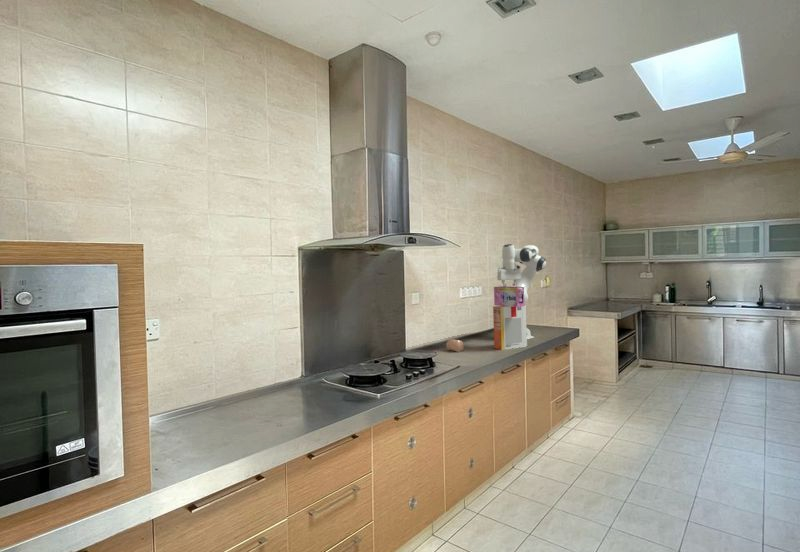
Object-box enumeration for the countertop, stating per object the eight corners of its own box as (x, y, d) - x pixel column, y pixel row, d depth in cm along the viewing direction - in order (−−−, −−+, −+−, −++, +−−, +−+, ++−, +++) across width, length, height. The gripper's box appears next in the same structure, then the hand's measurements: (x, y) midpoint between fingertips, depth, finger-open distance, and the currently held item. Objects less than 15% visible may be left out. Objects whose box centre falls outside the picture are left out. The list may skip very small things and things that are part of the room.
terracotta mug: (444, 347, 302) (453, 348, 294) (448, 337, 304) (458, 338, 297) (453, 353, 307) (462, 355, 300) (457, 343, 309) (466, 344, 302)
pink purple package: (526, 306, 298) (525, 286, 298) (518, 307, 294) (517, 287, 294) (501, 304, 319) (501, 286, 318) (493, 305, 314) (493, 286, 314)
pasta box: (519, 344, 316) (518, 304, 316) (527, 346, 309) (525, 305, 308) (494, 348, 306) (493, 306, 306) (501, 350, 299) (500, 307, 298)
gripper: (501, 267, 298) (501, 287, 298) (522, 266, 308) (522, 285, 308) (494, 267, 303) (495, 286, 303) (515, 266, 314) (516, 285, 314)
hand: (509, 286), depth 306 cm, fingers open, 8 cm apart
